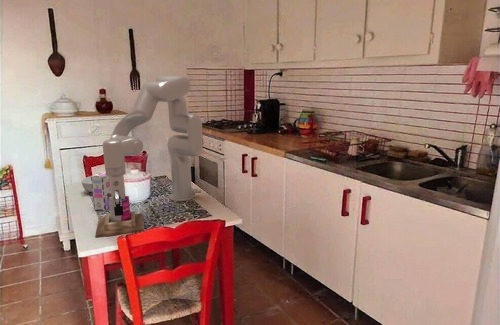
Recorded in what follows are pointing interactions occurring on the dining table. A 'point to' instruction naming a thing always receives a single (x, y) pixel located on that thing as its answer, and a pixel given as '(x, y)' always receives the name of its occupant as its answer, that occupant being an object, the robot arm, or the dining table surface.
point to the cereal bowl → (87, 184)
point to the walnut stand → (119, 225)
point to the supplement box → (125, 210)
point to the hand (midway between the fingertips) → (119, 211)
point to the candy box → (101, 191)
